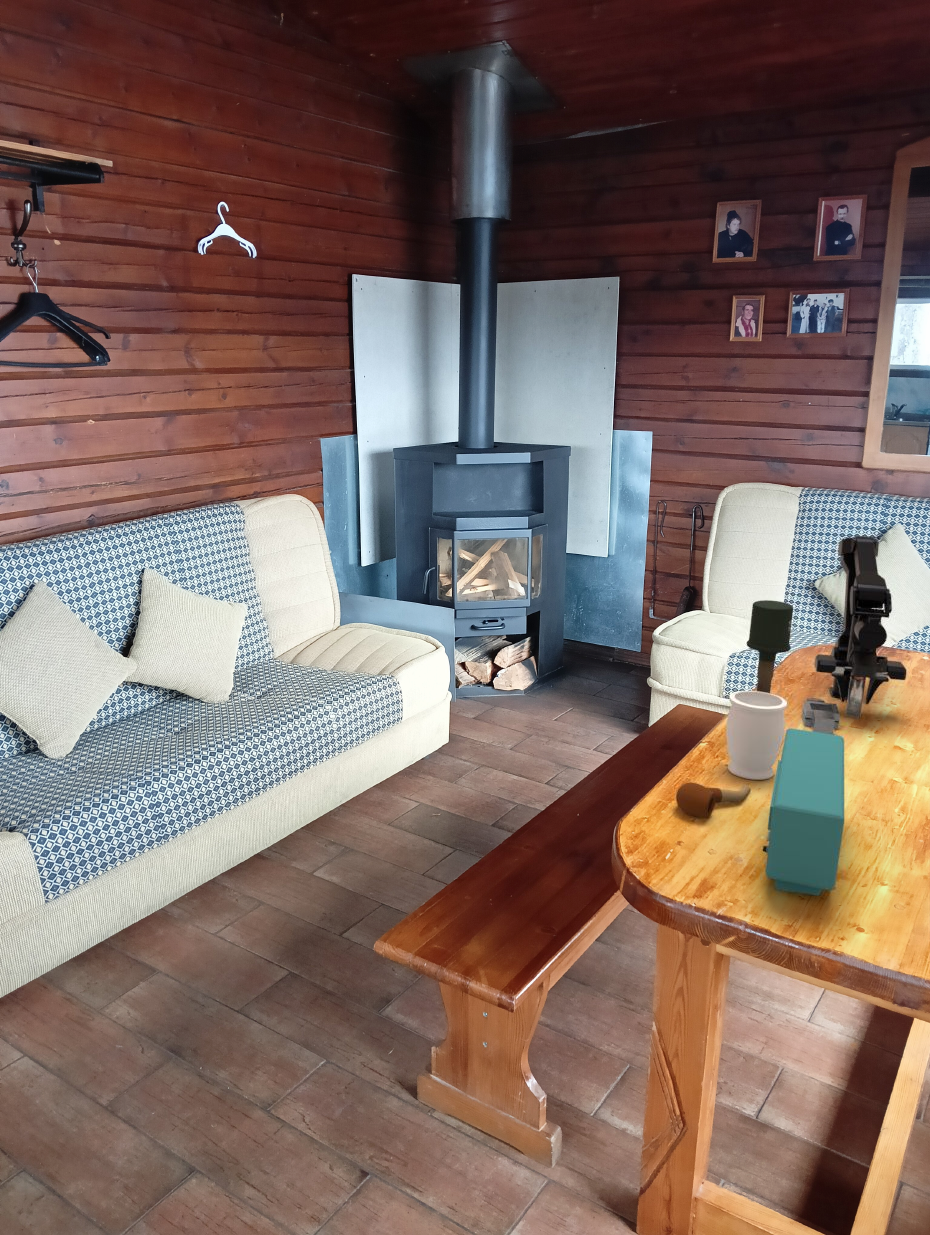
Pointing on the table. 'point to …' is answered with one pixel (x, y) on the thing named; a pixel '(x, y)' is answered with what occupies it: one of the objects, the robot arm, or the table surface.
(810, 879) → the radio
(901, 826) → the table surface
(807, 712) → the strap
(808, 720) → the lower strap
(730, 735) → the jar
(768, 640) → the potato masher grenade
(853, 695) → the link pin
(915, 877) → the table surface
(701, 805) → the smoking pipe
